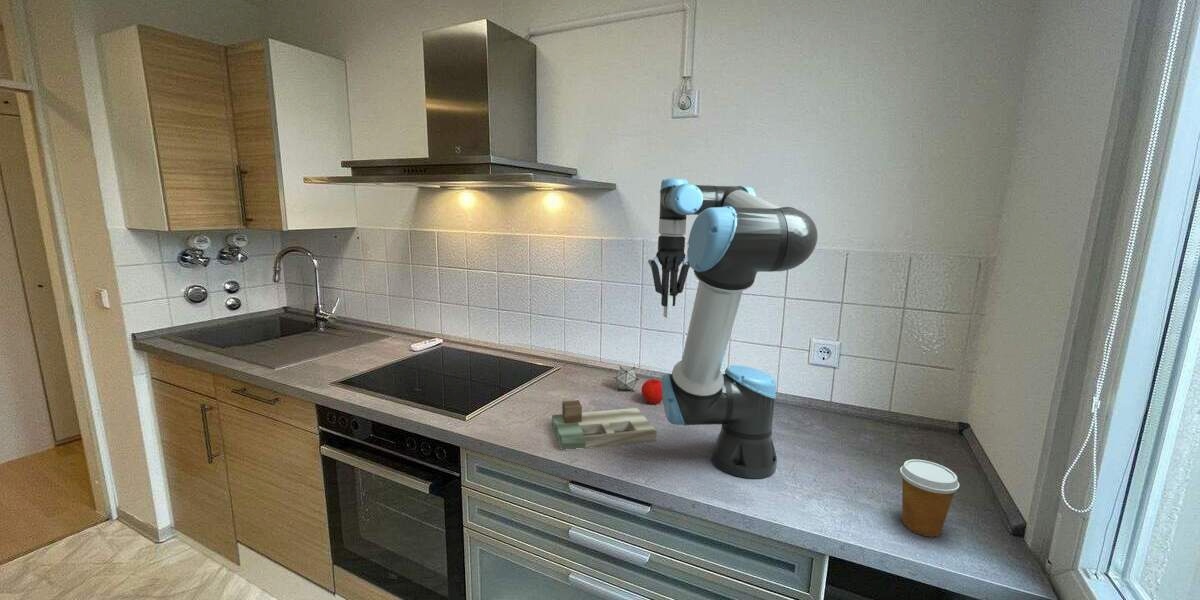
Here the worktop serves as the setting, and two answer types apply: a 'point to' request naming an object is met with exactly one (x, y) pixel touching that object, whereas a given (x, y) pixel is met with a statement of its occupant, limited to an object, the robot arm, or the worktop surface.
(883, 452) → the worktop surface
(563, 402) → the block
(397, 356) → the worktop surface
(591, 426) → the shape sorter board
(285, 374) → the worktop surface
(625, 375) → the game die
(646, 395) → the apple
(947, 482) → the disposable coffee cup
